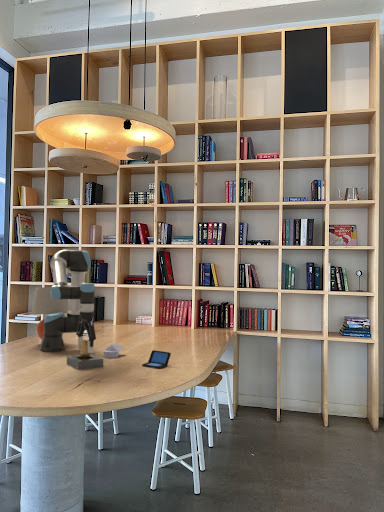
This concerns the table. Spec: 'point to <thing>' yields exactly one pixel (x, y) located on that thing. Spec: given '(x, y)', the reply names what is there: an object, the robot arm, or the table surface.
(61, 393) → the table surface
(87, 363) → the jig block
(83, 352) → the golden brown cylinder
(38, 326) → the lamp
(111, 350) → the wedge on round base
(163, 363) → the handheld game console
